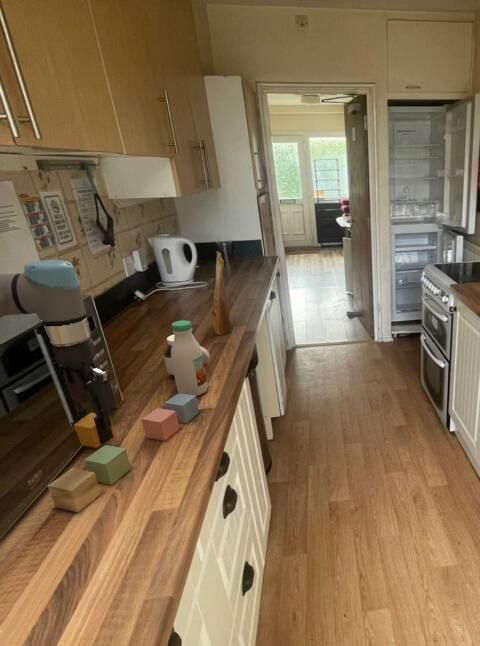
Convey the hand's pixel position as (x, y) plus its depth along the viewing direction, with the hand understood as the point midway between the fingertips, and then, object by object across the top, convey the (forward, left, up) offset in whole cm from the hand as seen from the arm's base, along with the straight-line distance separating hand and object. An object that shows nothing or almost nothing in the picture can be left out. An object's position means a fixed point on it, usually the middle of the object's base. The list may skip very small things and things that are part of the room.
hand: (96, 438), depth 94 cm
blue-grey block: (+10, +15, -2) cm, 18 cm away
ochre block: (0, 0, 0) cm, 0 cm away
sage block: (+10, -7, -2) cm, 13 cm away
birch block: (+10, -15, -2) cm, 18 cm away
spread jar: (-5, +38, -2) cm, 39 cm away
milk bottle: (+4, +27, -2) cm, 28 cm away
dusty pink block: (+10, +8, -2) cm, 13 cm away
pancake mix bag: (-16, +74, -2) cm, 75 cm away
